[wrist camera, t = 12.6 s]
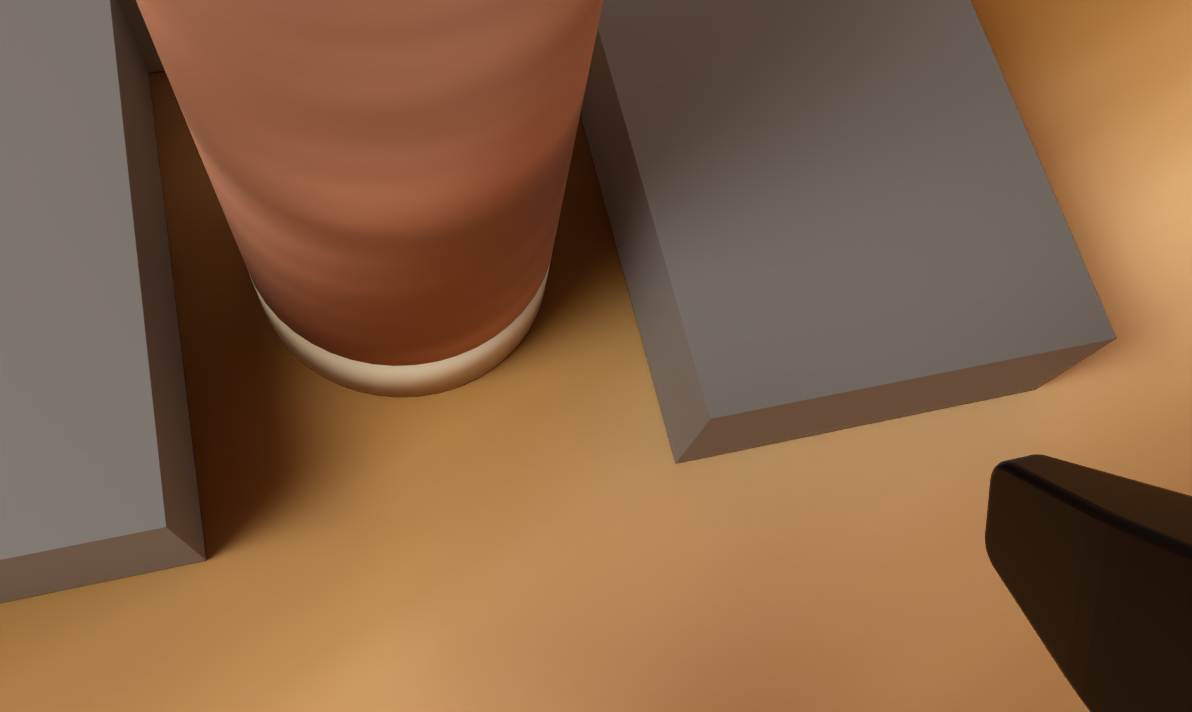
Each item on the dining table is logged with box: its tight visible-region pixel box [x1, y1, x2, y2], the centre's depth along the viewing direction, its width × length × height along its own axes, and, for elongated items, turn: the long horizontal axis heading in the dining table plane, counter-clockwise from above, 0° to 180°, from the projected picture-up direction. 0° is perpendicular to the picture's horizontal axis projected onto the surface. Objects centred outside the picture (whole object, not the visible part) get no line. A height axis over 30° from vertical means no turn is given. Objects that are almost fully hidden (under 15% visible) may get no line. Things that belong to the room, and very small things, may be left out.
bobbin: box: [136, 0, 603, 397], centre depth 13 cm, size 5×5×12 cm
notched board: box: [0, 0, 1116, 603], centre depth 18 cm, size 15×21×2 cm
